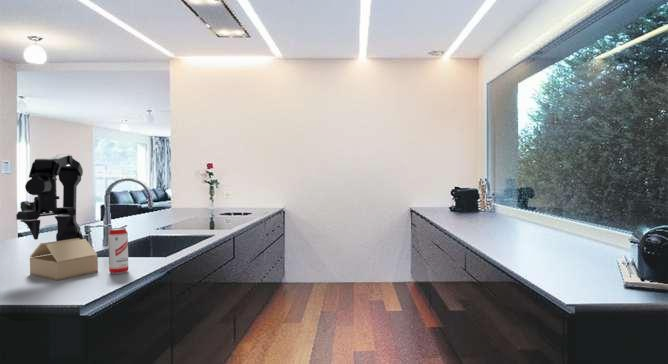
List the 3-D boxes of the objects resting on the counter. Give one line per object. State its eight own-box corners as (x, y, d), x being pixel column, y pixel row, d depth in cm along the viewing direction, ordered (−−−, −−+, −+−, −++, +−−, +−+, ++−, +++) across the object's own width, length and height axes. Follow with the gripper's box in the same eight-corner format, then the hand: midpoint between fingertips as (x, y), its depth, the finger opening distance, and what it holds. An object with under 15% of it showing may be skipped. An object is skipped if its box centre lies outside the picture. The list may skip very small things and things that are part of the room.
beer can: (132, 271, 159) (131, 228, 159) (117, 275, 153) (116, 230, 153) (120, 269, 162) (119, 227, 161) (105, 273, 156) (104, 229, 156)
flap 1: (69, 251, 168) (68, 249, 168) (79, 239, 164) (79, 238, 164) (30, 257, 156) (29, 256, 156) (40, 244, 152) (40, 243, 152)
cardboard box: (70, 266, 168) (69, 251, 168) (97, 271, 159) (97, 255, 159) (30, 274, 156) (29, 257, 156) (57, 280, 147) (57, 262, 147)
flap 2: (84, 240, 162) (85, 238, 162) (96, 255, 159) (97, 254, 158) (45, 245, 150) (46, 244, 150) (57, 262, 147) (58, 261, 147)
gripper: (53, 192, 166) (54, 232, 166) (3, 195, 148) (5, 240, 148) (76, 192, 162) (77, 234, 163) (28, 195, 144) (29, 242, 145)
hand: (48, 237), depth 155 cm, fingers open, 9 cm apart
